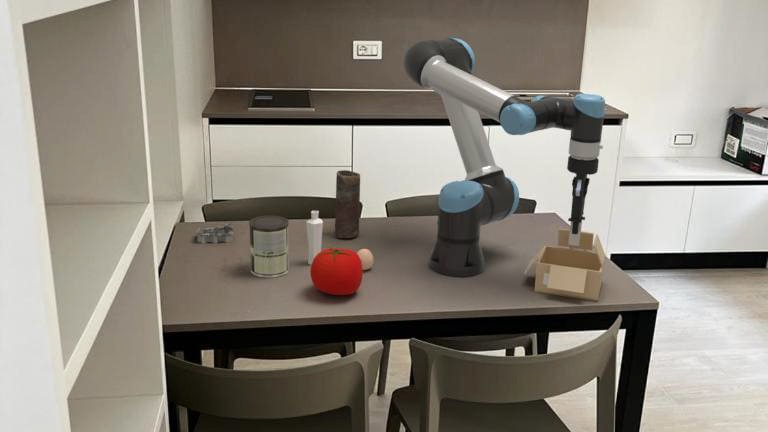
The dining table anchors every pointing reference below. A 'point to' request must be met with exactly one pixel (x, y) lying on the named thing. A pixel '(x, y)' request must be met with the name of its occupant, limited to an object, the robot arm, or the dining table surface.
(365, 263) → the egg
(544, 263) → the carton
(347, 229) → the candle
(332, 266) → the tomato
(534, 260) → the left flap
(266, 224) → the coffee can
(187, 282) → the dining table surface
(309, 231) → the perfume bottle
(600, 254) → the right flap
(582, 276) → the front flap
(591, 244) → the back flap
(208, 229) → the egg carton
